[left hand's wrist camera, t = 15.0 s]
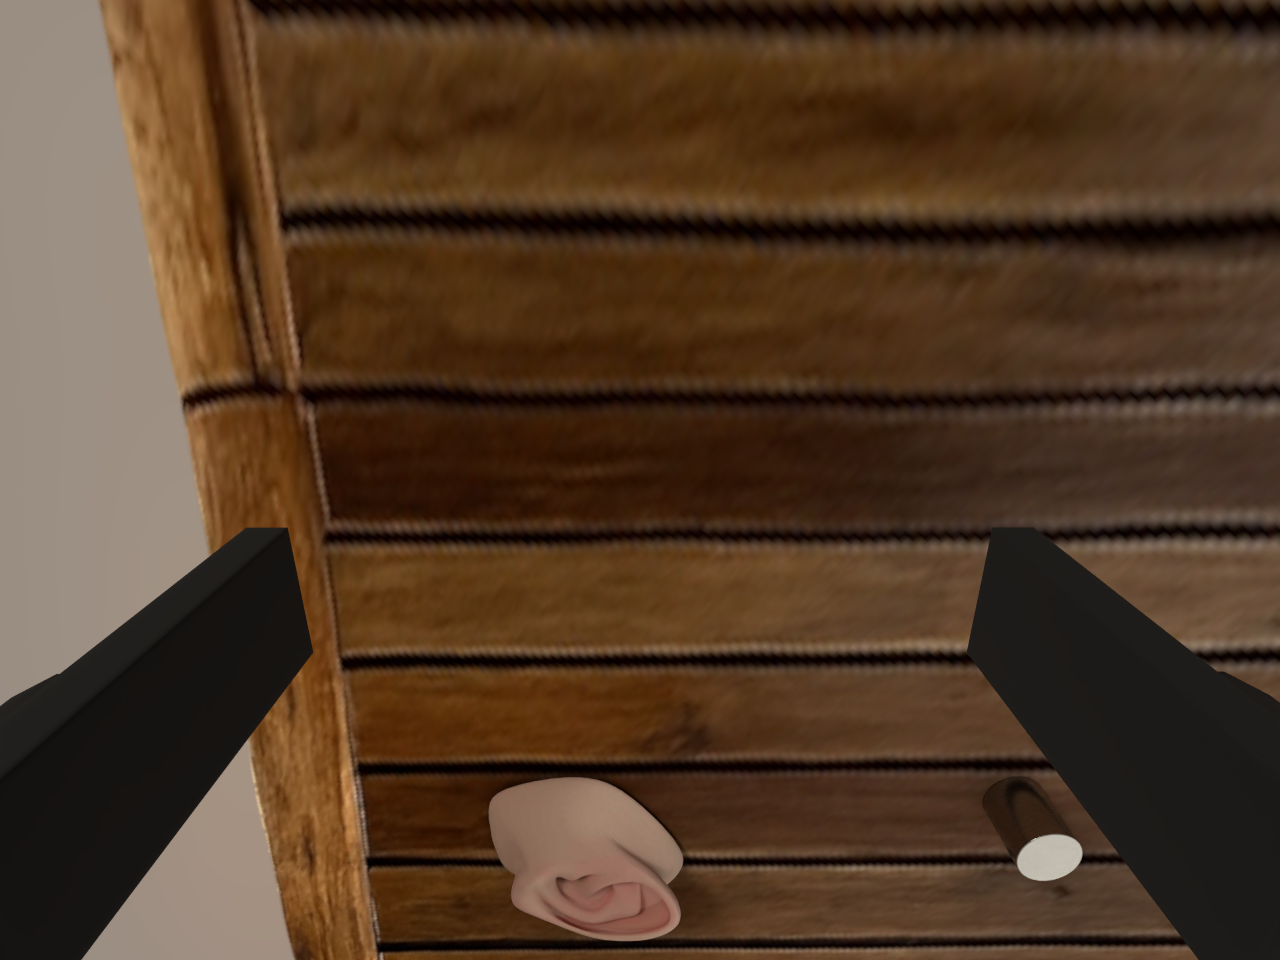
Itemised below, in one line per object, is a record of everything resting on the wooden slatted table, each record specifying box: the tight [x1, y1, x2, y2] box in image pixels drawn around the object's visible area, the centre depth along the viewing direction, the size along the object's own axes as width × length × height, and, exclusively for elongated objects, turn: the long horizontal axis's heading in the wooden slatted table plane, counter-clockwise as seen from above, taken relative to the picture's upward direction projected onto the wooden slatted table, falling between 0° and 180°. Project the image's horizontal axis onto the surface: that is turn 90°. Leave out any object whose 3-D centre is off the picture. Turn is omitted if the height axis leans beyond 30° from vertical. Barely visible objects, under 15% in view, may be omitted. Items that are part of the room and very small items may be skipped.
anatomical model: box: [489, 777, 683, 941], centre depth 45 cm, size 13×4×12 cm
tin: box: [983, 777, 1083, 881], centre depth 43 cm, size 4×4×4 cm
